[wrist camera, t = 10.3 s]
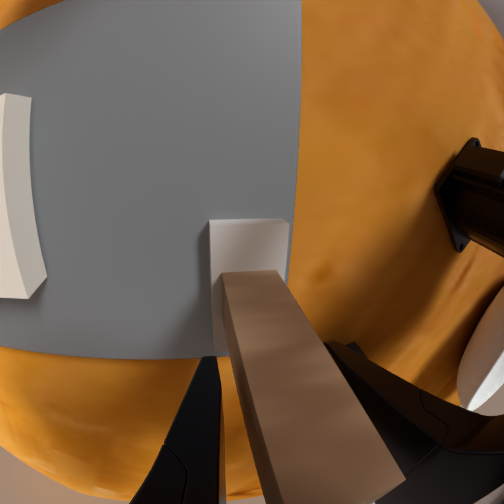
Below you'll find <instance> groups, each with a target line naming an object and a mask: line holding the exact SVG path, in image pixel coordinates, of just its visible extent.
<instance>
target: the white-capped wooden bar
mask: <svg viewBox="0 0 504 504" xmlns="http://www.w3.org/2000/svg"><path fill="white" fill-rule="evenodd" d="M288 236H289V223H288V222H287V221H286V220H284V219H283V218H279V219H227V220H209V244H210V278H211V302H212V321H213V338H214V347H215V351H226V350H229V354H230V359H231V364H232V368H233V373H234V378H235V382H236V387H237V391H238V396H239V400H240V405H241V409H242V413H243V418H244V422H245V426H246V430H247V434H248V438H249V442H250V446H251V450H252V454H253V458H254V462H255V465H256V469H257V473H258V477H259V480H260V484H261V487H262V491H263V495H264V498H265V501H266V504H372V503H373V502H375V501H376V500H378V499H379V498H381V497H382V496H384V495H385V494H387V493H388V492H390V491H391V490H393V489H394V488H395V487H397V486H398V485H399V484H401V483H402V482H403V481H405V480H406V478H405V477H404V475H403V473H402V472H401V470H400V468H399V467H398V465H397V463H396V462H395V460H394V458H393V457H392V455H391V453H390V452H389V450H388V448H387V447H386V445H385V443H384V442H383V440H382V438H381V437H380V435H379V433H378V432H377V430H376V428H375V427H374V425H373V424H372V422H371V420H370V419H369V417H368V415H367V414H366V412H365V410H364V409H363V407H362V406H361V404H360V402H359V401H358V399H357V397H356V396H355V394H354V392H353V391H352V389H351V388H350V386H349V384H348V383H347V381H346V380H345V378H344V376H343V375H342V373H341V371H340V370H339V368H338V367H337V365H336V363H335V362H334V360H333V359H332V357H331V355H330V354H329V352H328V351H327V349H326V347H325V346H324V344H323V343H322V341H321V339H320V338H319V336H318V335H317V333H316V331H315V330H314V328H313V327H312V325H311V324H310V322H309V320H308V319H307V317H306V316H305V314H304V312H303V311H302V309H301V308H300V306H299V305H298V303H297V301H296V300H295V298H294V297H293V295H292V294H291V292H290V290H289V289H288V287H287V286H286V284H285V283H284V281H285V270H286V259H287V248H288Z"/></svg>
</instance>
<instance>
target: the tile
mask: <svg viewBox="0 0 504 504" xmlns="http://www.w3.org/2000/svg"><path fill="white" fill-rule="evenodd" d="M31 99H32V98H31V97H26V96H20V95H15V94H9V93H4V94H2V95H0V298H18V299H29V298H30V296H31V295H32V294H33V293H34V292H35V290H36V289H37V288H38V287H39V286H40V285H41V283H42V282H43V281H44V280H45V279H46V278H47V273H46V269H45V265H44V261H43V257H42V252H41V248H40V243H39V238H38V232H37V227H36V221H35V214H34V207H33V198H32V188H31V176H30V153H29V134H30V111H31Z"/></svg>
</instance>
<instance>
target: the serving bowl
mask: <svg viewBox="0 0 504 504" xmlns="http://www.w3.org/2000/svg"><path fill="white" fill-rule="evenodd" d="M503 383H504V286H503V288H502V289H501V290H500V291H499V293H498V294H497V296H496V297H495V298H494V300H493V301H492V302H491V304H490V305H489V306H488V308H487V309H486V311H485V313H484V314H483V316H482V318H481V319H480V321H479V323H478V325H477V327H476V329H475V331H474V333H473V335H472V337H471V339H470V341H469V343H468V345H467V347H466V349H465V352H464V354H463V357H462V360H461V362H460V366H459V370H458V375H457V392H458V396H459V399H460V402H461V404H462V406H463V407H464V409H467V410H470V411H473V410H475V409H476V408H478V407H479V406H480V405H482V404H483V403H484V402H485V401H486V400H487V399H489V398H490V397H491V396H492V395H493V394H494V393H495V392H496V391H497V390H498V389H499V388H500V386H501V385H502V384H503Z"/></svg>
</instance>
